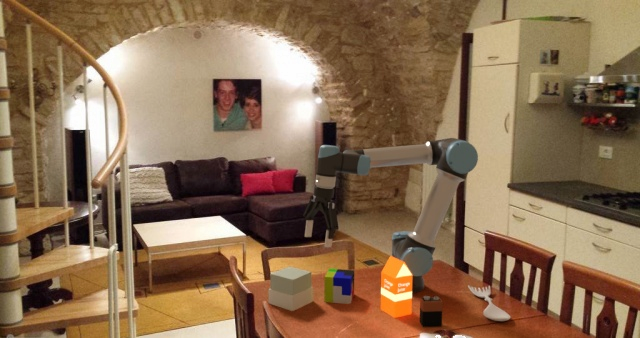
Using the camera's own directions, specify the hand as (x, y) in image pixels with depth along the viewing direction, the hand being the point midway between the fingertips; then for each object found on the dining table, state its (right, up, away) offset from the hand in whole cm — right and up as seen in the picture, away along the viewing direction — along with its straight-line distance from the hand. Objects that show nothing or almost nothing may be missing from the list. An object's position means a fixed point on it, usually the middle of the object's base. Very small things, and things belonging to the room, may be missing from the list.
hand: (317, 241), depth 205 cm
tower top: (-10, -18, +1) cm, 20 cm away
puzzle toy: (+9, -23, +6) cm, 25 cm away
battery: (+39, -26, -18) cm, 50 cm away
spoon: (+64, -25, -3) cm, 68 cm away
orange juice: (+29, -25, -7) cm, 38 cm away
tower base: (-10, -24, +2) cm, 26 cm away
